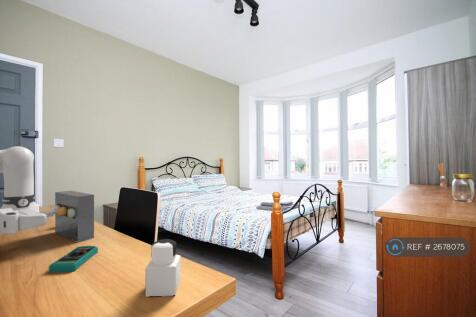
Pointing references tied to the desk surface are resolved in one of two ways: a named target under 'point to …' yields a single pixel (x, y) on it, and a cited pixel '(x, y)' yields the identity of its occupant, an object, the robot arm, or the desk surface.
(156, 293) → the medicine bottle
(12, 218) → the robot arm
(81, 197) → the control box
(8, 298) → the desk surface
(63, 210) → the orange button
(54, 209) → the cream button
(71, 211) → the sage button
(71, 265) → the digital multimeter
